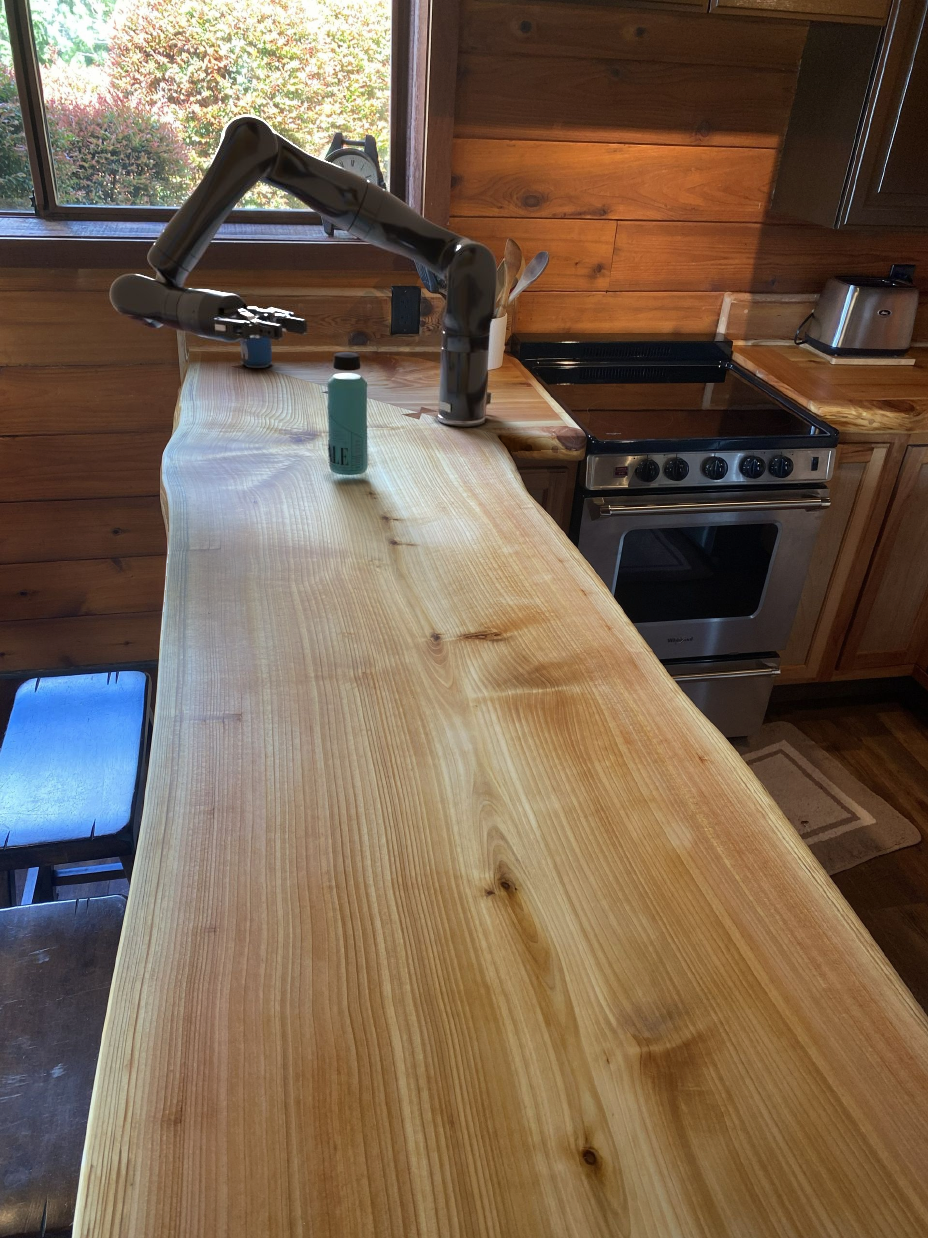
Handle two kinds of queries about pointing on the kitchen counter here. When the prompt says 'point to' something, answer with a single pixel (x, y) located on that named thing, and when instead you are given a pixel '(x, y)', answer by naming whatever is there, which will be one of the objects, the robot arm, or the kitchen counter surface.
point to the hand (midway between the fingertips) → (293, 329)
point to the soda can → (256, 352)
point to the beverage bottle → (347, 417)
